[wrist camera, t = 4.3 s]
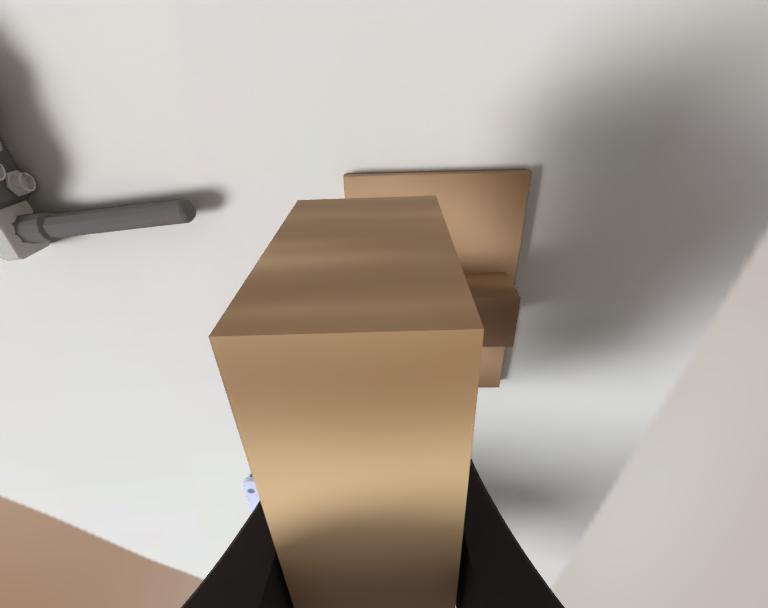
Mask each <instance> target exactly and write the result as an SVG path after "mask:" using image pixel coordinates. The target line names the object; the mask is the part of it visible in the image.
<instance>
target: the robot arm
mask: <svg viewBox="0 0 768 608" xmlns="http://www.w3.org/2000/svg"><path fill="white" fill-rule="evenodd" d="M243 488H244V491H245V494H246V498H247V501H248V504H249V507H250V510H251V513H252V514H251V515H250V517H249V518H248V520H247V521H246V523H245V524H244V526H243V527H242V528H241V530H240V531H239V533H238V534H237V536H236V537H235V539H234V540H233V542H232V543H231V544H230V546H229V547H228V549H227V550H226V551H225V553H224V554H223V556H222V557H221V558H220V560H219V561H218V562H217V564H216V565H215V566H214V568H213V569H212V570H211V572H210V573H209V574H208V575H207V577H206V578H205V579H204V580H203V582H202V583H201V584H200V586H199V587H198V588H197V589H196V591H195V592H194V593H193V594H192V595H191V596H190V598H189V599H188V600H187V601H186V603H185V604H184V605H183V606H182V607H181V608H294V606H293V603H292V600H291V596H290V593H289V590H288V587H287V584H286V581H285V577H284V574H283V571H282V568H281V565H280V562H279V558H278V555H277V552H276V549H275V546H274V543H273V539H272V536H271V533H270V530H269V527H268V524H267V520H266V517H265V514H264V511H263V508H262V504H261V501H260V498H259V495H258V492H257V489H256V485H255V482H254V479H253V477H247V478H245V480H244V482H243ZM456 607H457V608H564V606H563V605H562V604H561V602H560V601H559V600H558V598H557V597H556V596H555V595H554V593H553V592H552V591H551V589H550V588H549V587H548V585H547V584H546V582H545V581H544V580H543V578H542V577H541V575H540V574H539V573H538V571H537V570H536V569H535V567H534V566H533V564H532V563H531V561H530V560H529V558H528V557H527V555H526V554H525V553H524V551H523V550H522V548H521V546H520V545H519V543H518V542H517V540H516V539H515V537H514V536H513V534H512V532H511V531H510V529H509V528H508V526H507V524H506V523H505V521H504V519H503V518H502V516H501V514H500V513H499V511H498V509H497V507H496V506H495V504H494V502H493V500H492V499H491V497H490V495H489V493H488V492H487V490H486V488H485V486H484V484H483V482H482V480H481V478H480V476H479V474H478V472H477V470H476V468H475V466H474V464H473V462H472V459H471V461H470V470H469V480H468V490H467V499H466V509H465V519H464V529H463V538H462V548H461V558H460V567H459V577H458V587H457V597H456Z"/></svg>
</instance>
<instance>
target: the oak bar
mask: <svg viewBox="0 0 768 608" xmlns="http://www.w3.org/2000/svg"><path fill="white" fill-rule="evenodd" d="M483 335H484V328H483V325H482V322H481V319H480V316H479V314H478V311H477V308H476V305H475V303H474V300H473V297H472V294H471V291H470V289H469V286H468V283H467V280H466V278H465V275H464V272H463V269H462V266H461V264H460V261H459V258H458V255H457V253H456V250H455V247H454V244H453V242H452V239H451V236H450V233H449V230H448V228H447V225H446V222H445V219H444V217H443V214H442V211H441V208H440V205H439V203H438V200H437V197H436V195H431V196H403V197H376V198H349V199H322V200H298V201H297V203H296V204H295V206H294V207H293V209H292V210H291V212H290V213H289V215H288V216H287V218H286V219H285V221H284V222H283V224H282V225H281V227H280V229H279V230H278V232H277V233H276V235H275V236H274V238H273V239H272V241H271V242H270V244H269V245H268V247H267V248H266V250H265V251H264V253H263V254H262V256H261V258H260V259H259V261H258V262H257V264H256V265H255V267H254V268H253V270H252V271H251V273H250V274H249V276H248V277H247V279H246V280H245V282H244V283H243V285H242V287H241V288H240V290H239V291H238V293H237V294H236V296H235V297H234V299H233V300H232V302H231V303H230V305H229V306H228V308H227V309H226V311H225V312H224V314H223V315H222V317H221V319H220V320H219V322H218V323H217V325H216V326H215V328H214V329H213V331H212V332H211V334H210V335H209V340H210V343H211V346H212V349H213V352H214V355H215V359H216V362H217V365H218V368H219V371H220V374H221V378H222V381H223V384H224V387H225V390H226V393H227V397H228V400H229V403H230V406H231V409H232V413H233V416H234V419H235V422H236V425H237V428H238V432H239V435H240V438H241V441H242V444H243V447H244V451H245V454H246V457H247V460H248V463H249V466H250V470H251V473H252V476H253V479H254V482H255V485H256V489H257V492H258V495H259V498H260V501H261V504H262V508H263V511H264V514H265V517H266V520H267V524H268V527H269V530H270V533H271V536H272V539H273V543H274V546H275V549H276V552H277V555H278V558H279V562H280V565H281V568H282V571H283V574H284V577H285V581H286V584H287V587H288V590H289V593H290V596H291V600H292V603H293V606H294V608H455V606H456V597H457V587H458V577H459V567H460V558H461V548H462V538H463V529H464V519H465V509H466V499H467V490H468V480H469V470H470V461H471V451H472V441H473V432H474V422H475V412H476V402H477V393H478V383H479V373H480V364H481V354H482V344H483Z"/></svg>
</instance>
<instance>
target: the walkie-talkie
mask: <svg viewBox="0 0 768 608" xmlns="http://www.w3.org/2000/svg"><path fill="white" fill-rule="evenodd" d="M35 189H36V181H35V180H34V178H33V177H32V176H31V175H30V174H28V173H25V172H22V173H21V172H20V171H19V169H18V168H17V166H16V164H15V162H14V160H13V158H12V157H11V155H10V153H9V151H8V149H7V148H6V146H5V144H4V142H3V140H2V139H1V137H0V258H2V259H5V260H8V261H9V260H18V259H24V258H26V257H28V256H30V255H32V254H34V253H36V252H38V251H39V250H41V249H43V248H45V247H47V246H49V245H50V242H52V241H56V240H59V238H60V237H68V236H77V235H85V234H94V233H103V232H111V231H120V230H129V229H137V228H146V227H155V226H163V225H172V224H181V223H189V222H190V221H192V220H193V219H194V218H195V216H196V209H195V206H194V205H193V204H192V203H191V202H190V201H188V200H185V199H178V200H169V201H160V202H152V203H143V204H135V205H126V206H118V207H109V208H101V209H92V210H83V211H75V212H66V213H58V214H51V213H49V212H40V213H34V212H33V210H32V208H31V206H30V204H29V203H28V201H27V200H26V199H27V198H28V196H29V194H30V193H31V191H34V190H35Z"/></svg>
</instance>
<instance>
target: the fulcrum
mask: <svg viewBox="0 0 768 608" xmlns="http://www.w3.org/2000/svg"><path fill="white" fill-rule="evenodd" d="M343 178H344V191H345V199H349V198H376V197H403V196H431V195H436V197H437V200H438V203H439V205H440V208H441V211H442V214H443V217H444V219H445V222H446V225H447V228H448V230H449V233H450V236H451V239H452V242H453V244H454V247H455V250H456V253H457V255H458V258H459V261H460V264H461V266H462V269H463V272H464V275H465V278H466V280H467V283H468V286H469V289H470V291H471V294H472V297H473V300H474V303H475V305H476V308H477V311H478V314H479V316H480V319H481V322H482V325H483V328H484V335H483V344H482V354H481V364H480V373H479V383H478V387H499V384H500V378H501V371H502V364H503V358H504V351H505V347H513V341H514V335H515V329H516V323H517V317H518V310H519V304H520V298H521V297H520V296H519V294H518V292H517V290H516V289H515V287H514V285H515V278H516V271H517V265H518V258H519V251H520V245H521V238H522V231H523V225H524V218H525V212H526V205H527V198H528V192H529V185H530V178H531V171H530V170H528V169H521V170H483V171H446V172H408V173H371V174H344V177H343Z"/></svg>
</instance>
